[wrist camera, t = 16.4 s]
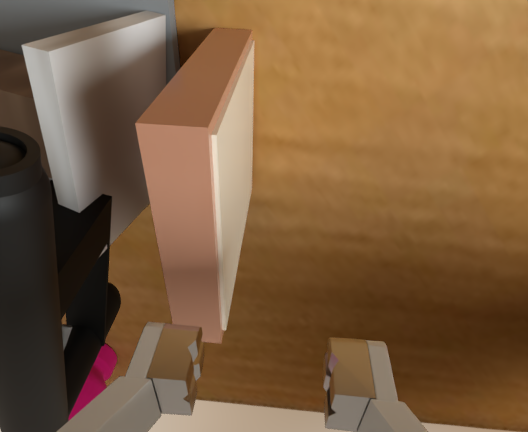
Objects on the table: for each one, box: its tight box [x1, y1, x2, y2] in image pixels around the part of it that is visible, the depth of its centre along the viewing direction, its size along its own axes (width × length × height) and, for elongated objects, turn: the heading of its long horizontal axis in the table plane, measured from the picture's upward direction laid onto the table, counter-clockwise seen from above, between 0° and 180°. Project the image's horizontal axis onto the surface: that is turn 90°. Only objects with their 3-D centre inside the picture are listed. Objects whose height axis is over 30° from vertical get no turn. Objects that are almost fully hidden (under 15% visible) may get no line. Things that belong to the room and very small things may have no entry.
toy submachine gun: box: [0, 126, 121, 432], centre depth 20 cm, size 3×20×16 cm, turn 164°
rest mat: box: [0, 0, 180, 204], centre depth 22 cm, size 14×14×1 cm
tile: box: [135, 28, 254, 343], centre depth 18 cm, size 2×10×12 cm, turn 178°
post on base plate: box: [0, 11, 166, 257], centre depth 19 cm, size 8×10×11 cm
